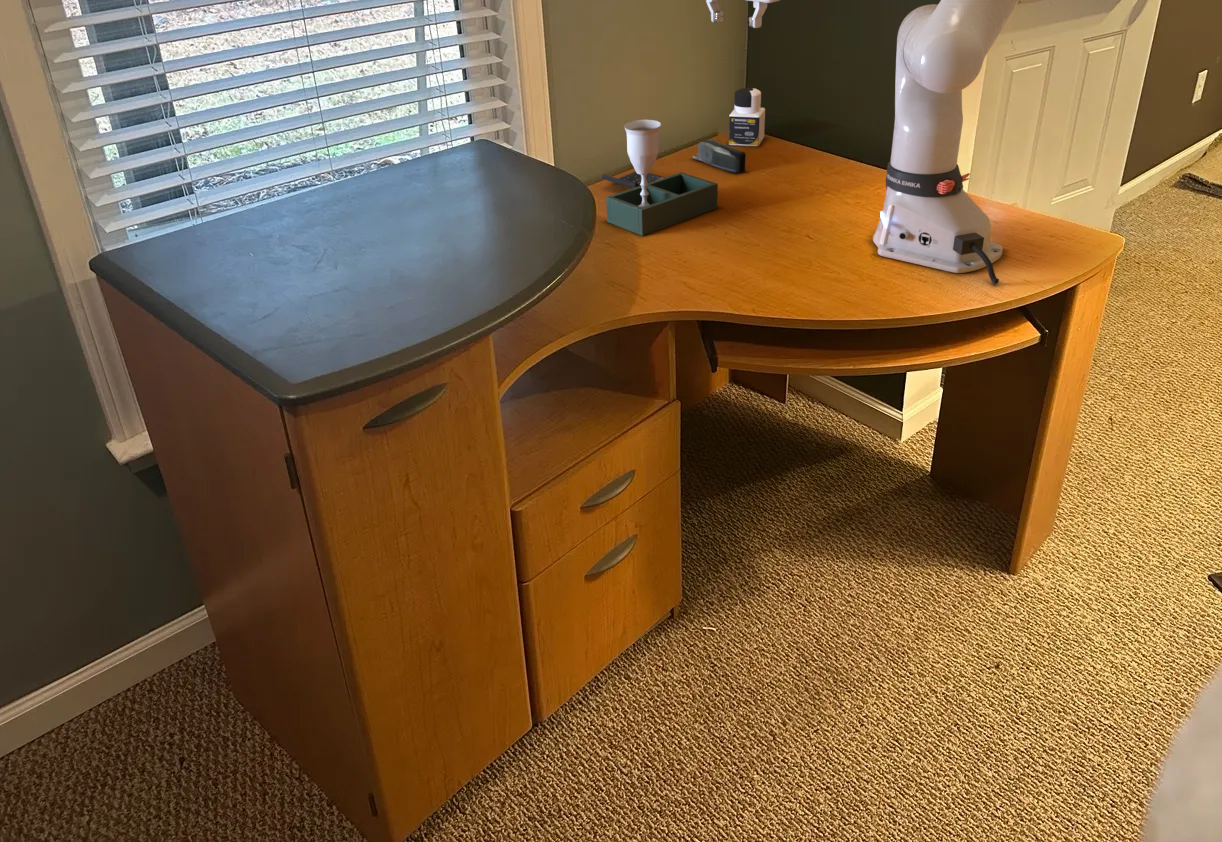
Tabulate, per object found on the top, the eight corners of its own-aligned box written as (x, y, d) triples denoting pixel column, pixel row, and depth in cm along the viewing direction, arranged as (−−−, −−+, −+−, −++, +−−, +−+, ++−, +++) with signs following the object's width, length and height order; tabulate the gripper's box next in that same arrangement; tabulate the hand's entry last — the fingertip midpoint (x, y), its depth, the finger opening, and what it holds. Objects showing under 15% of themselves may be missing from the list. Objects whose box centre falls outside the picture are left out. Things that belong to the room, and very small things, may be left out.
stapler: (748, 150, 212) (700, 134, 221) (738, 153, 210) (690, 137, 220) (747, 172, 214) (700, 156, 224) (737, 176, 213) (690, 159, 223)
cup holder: (717, 208, 196) (717, 183, 194) (642, 236, 186) (641, 210, 183) (681, 196, 203) (681, 171, 201) (607, 222, 193) (605, 197, 190)
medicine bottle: (728, 145, 231) (729, 93, 224) (734, 136, 237) (735, 85, 230) (758, 146, 229) (760, 94, 222) (764, 137, 234) (766, 86, 228)
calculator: (671, 182, 211) (671, 168, 209) (634, 197, 204) (634, 183, 202) (638, 174, 216) (638, 160, 215) (602, 188, 210) (601, 175, 208)
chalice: (651, 226, 188) (648, 132, 178) (620, 221, 191) (616, 128, 181) (669, 214, 193) (668, 121, 183) (639, 209, 196) (636, 118, 186)
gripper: (793, -59, 167) (791, 27, 175) (707, -64, 181) (708, 16, 188) (768, -54, 164) (767, 33, 171) (683, -59, 177) (685, 22, 185)
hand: (736, 24), depth 180 cm, fingers open, 8 cm apart
